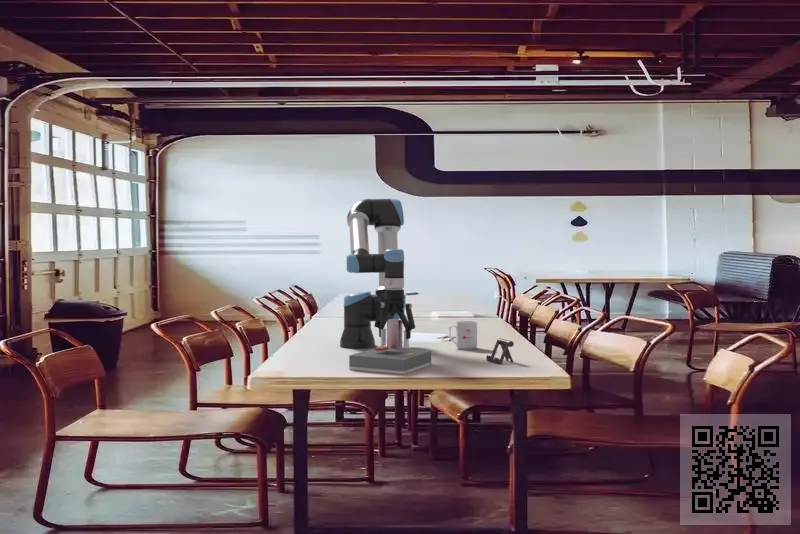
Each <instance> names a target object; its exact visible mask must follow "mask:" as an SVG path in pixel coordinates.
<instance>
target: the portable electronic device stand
mask: <svg viewBox="0 0 800 534" xmlns="http://www.w3.org/2000/svg"><path fill="white" fill-rule="evenodd" d="M514 344H515V343H514V341H512V340H509V339H504V338H497V340H496V342H495V344H494V348H493V350H492V353H491V355H487V354H486V361H487V362H491V363H494V364H497V365H502V364H503V362H504V359H505V360H506V361H507V360H508V361H507V362H509V360H510V362H511V363H513V362H514V360H513V357H512V355H511V352H510V350H509V347H510V348H512V347H514ZM499 345H500V347H501V349H502V353H501V355H500V358H498V357H495V356H496V353H497V350H498V348H499Z"/></svg>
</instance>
